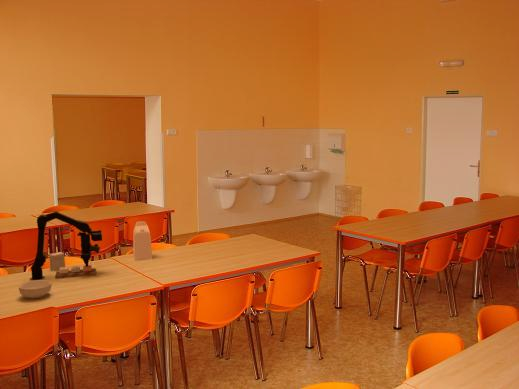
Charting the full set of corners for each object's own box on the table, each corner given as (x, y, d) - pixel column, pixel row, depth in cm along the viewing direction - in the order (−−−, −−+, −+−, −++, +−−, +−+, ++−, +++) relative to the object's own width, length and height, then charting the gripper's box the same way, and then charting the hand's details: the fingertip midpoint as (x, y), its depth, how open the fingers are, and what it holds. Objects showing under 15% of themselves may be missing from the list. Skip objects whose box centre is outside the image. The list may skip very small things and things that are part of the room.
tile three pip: (83, 271, 347) (82, 267, 346) (83, 269, 351) (83, 265, 351) (91, 270, 348) (91, 266, 348) (91, 269, 353) (91, 264, 352)
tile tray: (55, 278, 340) (55, 275, 340) (56, 274, 350) (56, 271, 350) (95, 275, 347) (95, 272, 346) (96, 271, 356) (95, 268, 356)
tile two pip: (71, 272, 345) (71, 268, 344) (71, 270, 350) (71, 266, 349) (79, 271, 346) (79, 267, 346) (80, 269, 351) (79, 265, 351)
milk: (150, 255, 396) (148, 219, 392) (152, 259, 385) (150, 222, 381) (133, 256, 392) (131, 221, 388) (135, 260, 381) (133, 223, 378)
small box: (61, 267, 368) (59, 251, 367) (65, 268, 365) (64, 253, 363) (49, 269, 362) (48, 254, 361) (54, 271, 358) (53, 255, 357)
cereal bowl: (12, 299, 302) (11, 287, 301) (34, 290, 317) (34, 278, 316) (37, 302, 296) (36, 289, 295) (58, 293, 311) (57, 281, 310)
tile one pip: (59, 273, 343) (59, 269, 343) (60, 271, 348) (59, 267, 347) (68, 272, 344) (67, 268, 344) (68, 270, 349) (68, 266, 349)
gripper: (98, 244, 340) (100, 268, 343) (99, 238, 358) (100, 261, 360) (79, 245, 338) (81, 270, 340) (81, 239, 355) (82, 263, 357)
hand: (87, 266), depth 349 cm, fingers closed, pressing on tile three pip
